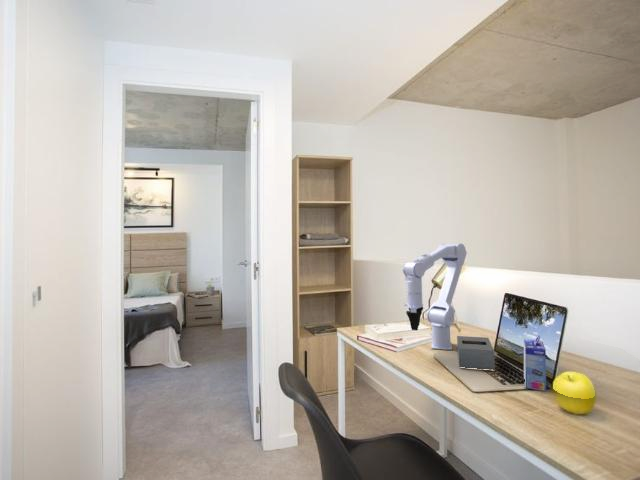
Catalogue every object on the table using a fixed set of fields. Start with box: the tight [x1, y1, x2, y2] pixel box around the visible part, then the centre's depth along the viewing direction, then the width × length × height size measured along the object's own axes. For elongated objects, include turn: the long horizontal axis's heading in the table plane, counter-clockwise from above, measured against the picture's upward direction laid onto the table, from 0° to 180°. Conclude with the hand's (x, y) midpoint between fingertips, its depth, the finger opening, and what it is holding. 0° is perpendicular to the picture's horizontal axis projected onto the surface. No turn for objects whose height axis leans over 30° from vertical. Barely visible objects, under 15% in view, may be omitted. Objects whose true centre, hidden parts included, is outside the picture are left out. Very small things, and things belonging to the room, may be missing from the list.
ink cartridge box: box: [523, 335, 547, 392], centre depth 105 cm, size 10×6×14 cm, turn 152°
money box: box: [456, 335, 496, 370], centre depth 125 cm, size 16×11×7 cm
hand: (415, 327), depth 136 cm, fingers open, 7 cm apart
